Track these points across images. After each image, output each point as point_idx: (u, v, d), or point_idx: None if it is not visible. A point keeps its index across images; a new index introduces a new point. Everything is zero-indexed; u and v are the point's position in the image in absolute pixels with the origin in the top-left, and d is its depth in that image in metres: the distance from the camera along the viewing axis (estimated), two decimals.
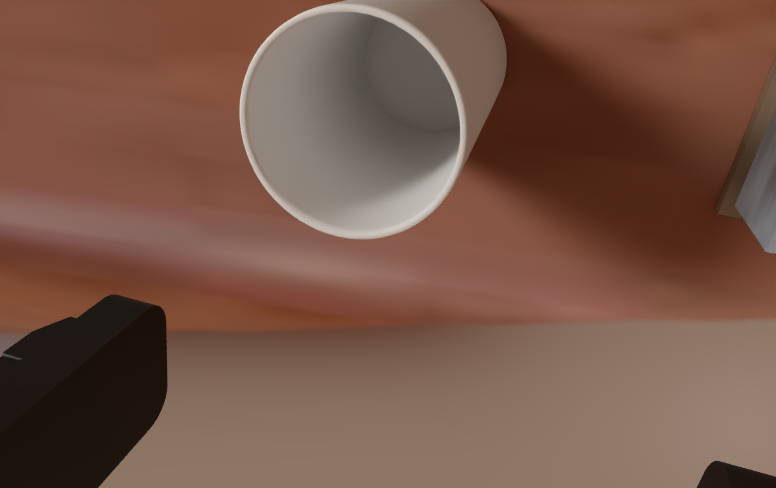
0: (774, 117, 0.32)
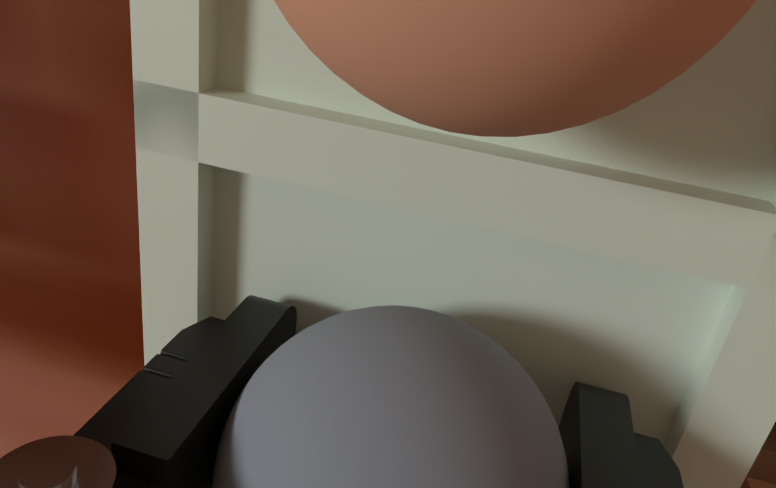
0: None
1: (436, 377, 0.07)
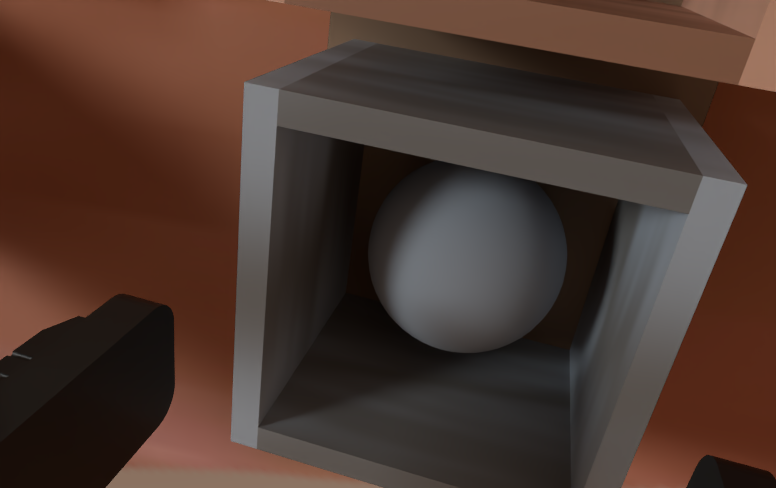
0: None
1: (498, 176, 0.13)
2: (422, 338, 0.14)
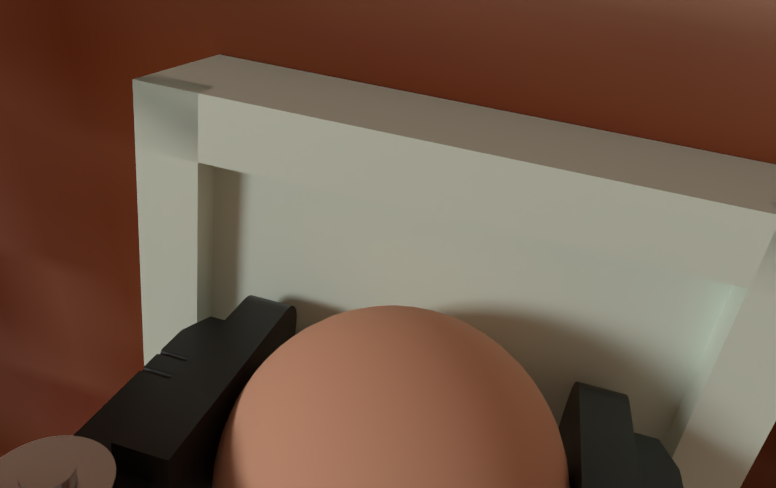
0: None
1: None
2: None
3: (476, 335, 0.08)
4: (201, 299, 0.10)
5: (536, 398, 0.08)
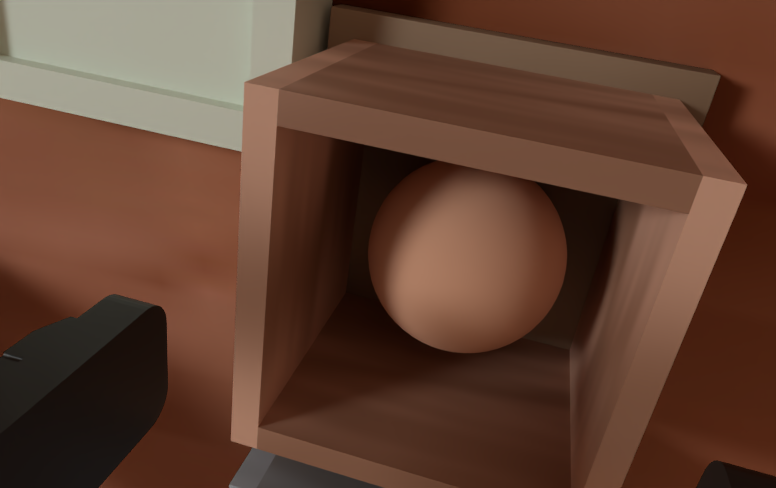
0: None
1: None
2: None
3: None
4: None
5: (548, 198, 0.14)
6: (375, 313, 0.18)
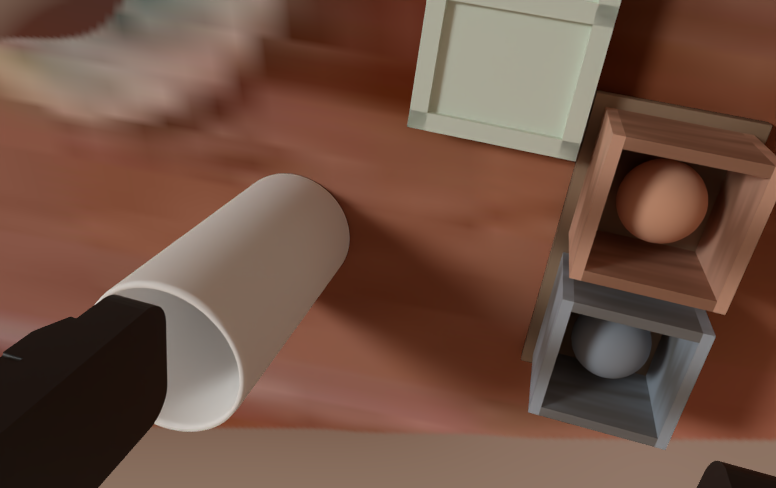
0: (551, 293, 0.39)
1: None
2: (597, 373, 0.37)
3: None
4: None
5: None
6: (600, 234, 0.37)
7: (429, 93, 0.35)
